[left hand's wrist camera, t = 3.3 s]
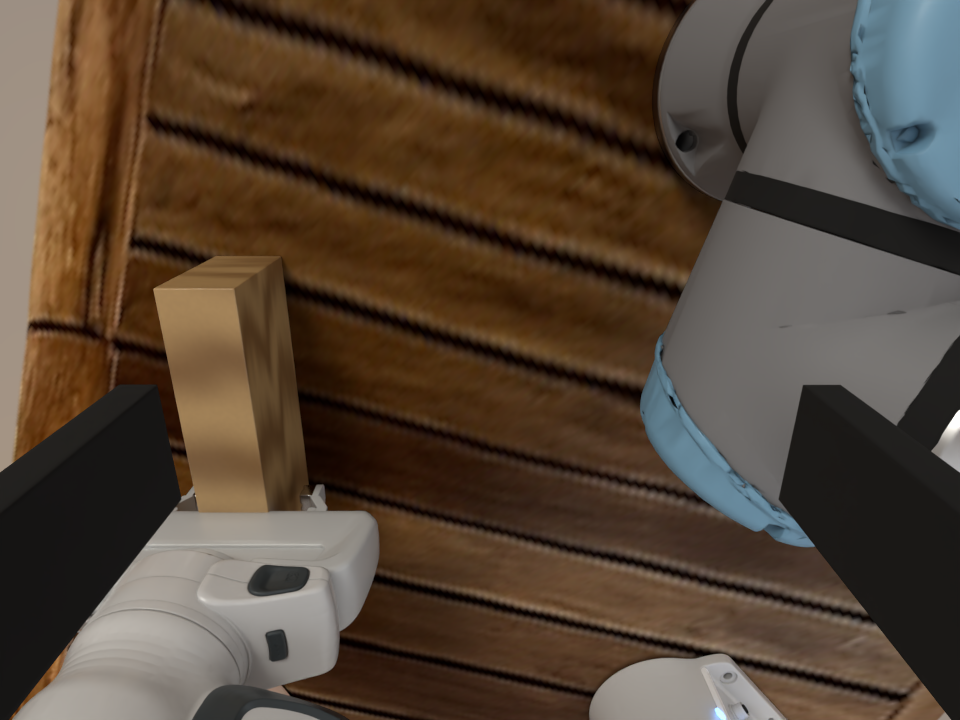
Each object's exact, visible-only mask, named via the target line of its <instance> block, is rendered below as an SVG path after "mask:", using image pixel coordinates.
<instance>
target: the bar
mask: <svg viewBox="0 0 960 720" xmlns="http://www.w3.org/2000/svg"><path fill="white" fill-rule="evenodd" d="M154 295H155V300H156V304H157V309H158V314H159V319H160V324H161V329H162V334H163V339H164V344H165V349H166V354H167V358H168V363H169V368H170V373H171V378H172V383H173V388H174V393H175V398H176V403H177V407H178V412H179V417H180V422H181V427H182V432H183V437H184V442H185V447H186V452H187V457H188V461H189V466H190V471H191V476H192V481H193V486H194V491H195V496H196V501H197V506H198V510H199V513H268V512H269V511H301V506H302V504H301V503H300V496H299V495H300V493H301V491H302V490H303V487H304V485H309V481H308V473H307V465H306V457H305V449H304V440H303V432H302V424H301V416H300V407H299V399H298V391H297V383H296V375H295V366H294V358H293V350H292V342H291V334H290V325H289V317H288V309H287V301H286V292H285V284H284V276H283V268H282V260H281V256H216V257H214V258H212V259H210V260H208V261H206V262H204V263H202V264H200V265H198V266H196V267H194V268H192V269H190V270H189V271H187V272H185V273H183V274H181V275H179V276H177V277H175V278H173V279H171V280H169V281H167V282H165V283H163V284H162V285H160V286H158V287H156V288H154Z"/></svg>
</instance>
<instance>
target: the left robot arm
mask: <svg viewBox="0 0 960 720" xmlns="http://www.w3.org/2000/svg"><path fill="white" fill-rule="evenodd" d="M652 108H653V118H654V124H655V129H656V133H657V136H658V140H659V142H660V145H661V147H662V150H663V152H664V154H665V155H666V157H667V159H668V161H669V162H670V164H671V165H672V167H673V168H674V169H675V170H676V172H677V173H678V174H679V175H680V176H681V177H682V178H683V179H684V180H685V181H686V182H687V183H688V184H690V185H691V186H692V187H693V188H695V189H697V190H698V191H700V192H701V193H703V194H705V195H707V196H709V197H712V198H714V199H717V200H720V201H723V202H722V204H721V206H720V209H719V211H718V213H717V216H716V218H715V220H714V222H713V225H712V227H711V229H710V231H709V234H708V236H707V238H706V240H705V243H704V245H703V247H702V249H701V252H700V254H699V256H698V258H697V261H696V263H695V265H694V267H693V270H692V272H691V274H690V276H689V279H688V281H687V283H686V285H685V288H684V290H683V292H682V294H681V297H680V299H679V301H678V303H677V306H676V308H675V310H674V312H673V315H672V317H671V319H670V321H669V324H668V326H667V328H666V330H665V332H664V333H663V334H662V335H660V337H659V339H658V341H657V344H656V348H655V360H654V363H653V365H652V368H651V371H650V373H649V376H648V379H647V381H646V384H645V387H644V389H643V392H642V396H641V403H640V411H641V416H642V419H643V422H644V425H645V431H646V434H647V436H648V438H649V440H650V442H651V444H652V445H653V447H654V449H655V450H656V452H657V453H658V455H659V456H660V457H661V459H662V460H663V461H664V462H665V463H666V465H667V466H668V467H669V468H670V469H671V470H672V471H673V473H674V474H675V475H676V476H677V477H678V478H679V479H680V480H682V481H683V482H684V483H685V484H686V485H687V486H688V487H689V488H690V489H691V490H693V491H694V492H695V493H696V494H697V495H698V496H700V497H701V498H702V499H703V500H705V501H706V502H707V503H709V504H710V505H711V506H713V507H714V508H715V509H717V510H718V511H720V512H721V513H723V514H724V515H726V516H728V517H729V518H731V519H732V520H734V521H736V522H738V523H740V524H741V525H743V526H745V527H747V528H749V529H751V530H753V531H761V530H762V529H764V530H765V531H766V532H768V533H769V534H770V535H771V536H772V537H773V538H774V539H775V540H776V541H779V542H783V543H786V544H790V545H794V546H800V547H816V548H817V549H818V551H819V552H820V553H821V554H822V556H823V557H824V558H825V559H826V561H827V562H828V563H829V565H830V566H831V567H832V568H833V570H834V571H835V572H836V573H837V575H838V576H839V577H840V579H841V580H842V581H843V582H844V584H845V585H846V586H847V587H848V589H849V590H850V591H851V593H852V594H853V595H854V596H855V598H856V599H857V600H858V601H859V603H860V604H861V605H862V607H863V608H864V609H865V610H866V612H867V613H868V614H869V615H870V617H871V618H872V619H873V621H874V622H875V623H876V624H877V626H878V627H879V628H880V629H881V631H882V632H883V633H884V635H885V636H886V637H887V638H888V640H889V641H890V642H891V644H892V645H893V646H894V647H895V649H896V650H897V651H898V652H899V654H900V655H901V656H902V658H903V659H904V660H905V661H906V663H907V664H908V665H909V666H910V668H911V669H912V670H913V672H914V673H915V674H916V675H917V677H918V678H919V679H920V680H921V682H922V683H923V684H924V686H925V687H926V688H927V689H928V691H929V692H930V693H931V694H932V696H933V697H934V698H935V700H936V701H937V702H938V703H939V705H940V706H941V707H942V708H943V710H944V711H945V712H946V714H947V715H948V716H949V717H950V719H951V720H960V0H692V1H691V2H690V3H689V4H688V6H687V7H686V8H685V9H684V11H683V12H682V13H681V15H680V16H679V18H678V19H677V21H676V22H675V24H674V26H673V27H672V29H671V31H670V33H669V35H668V37H667V39H666V41H665V43H664V46H663V48H662V51H661V54H660V56H659V60H658V63H657V67H656V71H655V76H654V83H653V92H652ZM749 207H752V208H755V209H758V210H755V209H752V208H749ZM759 210H761V211H759ZM762 211H764V212H762ZM765 212H767V213H765ZM768 213H770V214H768ZM771 214H773V215H771ZM774 215H776V216H774ZM778 216H779V217H778ZM781 217H782V218H781ZM784 218H785V219H784ZM787 219H788V220H787ZM790 220H791V221H790ZM793 221H794V222H793ZM796 222H797V223H796ZM799 223H800V224H799ZM803 224H804V225H803ZM806 225H807V226H806ZM809 226H810V227H809ZM812 227H813V228H812ZM815 228H816V229H815ZM818 229H819V230H818ZM821 230H822V231H821ZM825 231H826V232H825ZM828 232H829V233H828ZM831 233H832V234H831ZM834 234H835V235H834ZM837 235H838V236H837ZM840 236H841V237H840ZM843 237H844V238H843ZM846 238H847V239H846ZM859 242H860V243H859ZM862 243H863V244H862ZM865 244H866V245H865ZM868 245H869V246H868ZM871 246H872V247H871ZM874 247H875V248H874ZM181 500H182V499H181V494H180V490H179V485H178V480H177V476H176V471H175V466H174V462H173V457H172V452H171V448H170V443H169V438H168V434H167V429H166V424H165V420H164V415H163V410H162V406H161V401H160V396H159V392H158V387H157V385H118V386H117V387H116V388H114V389H113V390H112V391H110V392H109V393H107V394H106V395H105V396H103V397H102V398H101V399H99V400H98V401H97V402H95V403H94V404H93V405H91V406H90V407H88V408H87V409H86V410H84V411H83V412H82V413H80V414H79V415H78V416H76V417H75V418H74V419H72V420H71V421H69V422H68V423H67V424H65V425H64V426H63V427H61V428H60V429H59V430H57V431H56V432H54V433H53V434H52V435H50V436H49V437H48V438H46V439H45V440H44V441H42V442H41V443H40V444H38V445H37V446H35V447H34V448H33V449H31V450H30V451H29V452H27V453H26V454H25V455H23V456H22V457H21V458H19V459H18V460H16V461H15V462H14V463H12V464H11V465H10V466H8V467H7V468H6V469H4V470H3V471H2V472H0V720H9V719H10V717H11V716H12V715H13V714H14V712H15V711H16V710H17V708H18V707H19V706H20V705H21V703H22V702H23V701H24V700H25V698H26V697H27V696H28V694H29V693H30V692H31V691H32V689H33V688H34V687H35V686H36V684H37V683H38V682H39V680H40V679H41V678H42V677H43V675H44V674H45V673H46V672H47V670H48V669H49V668H50V666H51V665H52V664H53V663H54V661H55V660H56V659H57V658H58V656H59V655H60V654H61V652H62V651H63V650H64V649H65V647H66V646H67V645H68V644H69V642H70V641H71V640H72V638H73V637H74V636H75V635H76V633H77V632H78V631H79V629H80V628H81V627H82V626H83V624H84V623H85V622H86V621H87V619H88V618H89V617H90V615H91V614H92V613H93V612H94V610H95V609H96V608H97V607H98V605H99V604H100V603H101V601H102V600H103V599H104V598H105V596H106V595H107V594H108V593H109V591H110V590H111V589H112V587H113V586H114V585H115V584H116V582H117V581H118V580H119V579H120V577H121V576H122V575H123V573H124V572H125V571H126V570H127V568H128V567H129V566H130V565H131V563H132V562H133V561H134V559H135V558H136V557H137V556H138V554H139V553H140V552H141V551H142V549H143V548H144V547H145V545H146V544H147V543H148V542H149V540H150V539H151V538H152V537H153V535H154V534H155V533H156V531H157V530H158V529H159V528H160V526H161V525H162V524H163V522H164V521H165V520H166V519H167V517H168V516H169V515H170V514H171V512H172V511H173V510H174V508H175V507H176V506H177V505H178V503H179V502H180V501H181Z"/></svg>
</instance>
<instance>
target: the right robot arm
mask: <svg viewBox="0 0 960 720" xmlns="http://www.w3.org/2000/svg"><path fill="white" fill-rule="evenodd" d="M299 496H300V503H301V504H302V506H301V511H269V512H268V513H199V510H198V506H197V501H196V496H195V491H194V486H193V487H192V488H191V490H190V491H189V492H188V493H187V495H186V496H182V497H181V499H182V500H181V501H180V502H179V503H178V505H177V506H176V507H175V508H174V510H173V511H172V512H171V514H170V515H169V516H168V517H167V519H166V520H165V521H164V522H163V524H162V525H161V526H160V528H159V529H158V530H157V531H156V533H155V534H154V535H153V537H152V538H151V539H150V540H149V542H148V543H147V544H146V545H145V547H144V548H143V549H142V551H141V552H140V553H139V554H138V556H137V557H136V558H135V559H134V561H133V562H132V563H131V565H130V566H129V567H128V568H127V570H126V571H125V572H124V573H123V575H122V576H121V577H120V579H119V580H118V581H117V582H116V584H115V585H114V586H113V587H112V589H111V590H110V591H109V593H108V594H107V595H106V596H105V598H104V599H103V600H102V601H101V603H100V604H99V605H98V607H97V608H96V609H95V610H94V612H93V613H92V614H91V615H90V617H89V618H88V619H87V621H86V622H85V623H84V624H83V626H82V627H81V628H80V629H79V631H78V632H77V633H79V634H78V635H77V637H76V638H75V640H74V641H73V643H72V645H71V646H70V648H69V650H68V653H67V655H66V658H65V660H64V663H63V666H62V668H61V670H60V672H59V674H58V675H57V677H56V678H55V679H54V680H53V681H52V682H51V683H50V684H49V685H48V686H47V687H45V688H44V689H43V690H41V691H40V692H39V693H38V694H36V695H35V696H34V697H33V698H32V699H31V700H29V701H28V702H27V703H26V704H25V705H24V706H23V707H22V708H21V710H20V711H19V712H18V713H17V714H16V716H15V717H14V718H13V719H12V720H349V719H347V718H346V717H344V716H342V715H341V714H339V713H337V712H335V711H332V710H330V709H328V708H325V707H322V706H319V705H316V704H313V703H310V702H307V701H304V700H301V699H298V698H294V697H291V696H288V695H285V694H281V693H277V692H273V691H269V690H268V689H271V688H274V687H277V686H280V685H284V684H287V683H291V682H294V681H298V680H302V679H306V678H310V677H314V676H317V675H321V674H324V673H326V672H328V671H330V670H331V669H332V668H333V667H334V665H335V664H336V661H337V658H338V653H339V638H340V634H339V631H341V630H343V629H345V628H346V627H347V626H349V625H350V624H351V623H352V622H353V621H354V619H355V618H356V617H357V615H358V614H359V612H360V610H361V608H362V606H363V604H364V602H365V599H366V597H367V595H368V592H369V590H370V587H371V584H372V581H373V578H374V575H375V572H376V568H377V565H378V560H379V532H378V524H377V521H376V519H375V518H374V517H373V516H372V515H371V514H370V513H368V512H366V511H328V508H327V506H326V504H325V498H326V497H325V488H324V485H323V484H321V485H304V487H303V490H302V491H301V493H300V495H299ZM589 719H590V720H787V719H786V718H785V717H784V716H783V715H782V713H781V712H780V711H779V710H778V709H777V708H776V707H775V706H774V705H773V704H772V703H771V701H770V700H769V699H768V698H767V697H766V696H765V695H764V694H763V693H762V692H761V690H760V689H759V688H758V687H757V686H756V685H755V684H754V683H753V682H752V681H751V680H750V678H749V677H748V676H747V675H746V674H745V673H744V672H743V671H742V670H741V669H740V668H739V666H738V665H737V664H736V663H735V662H734V661H733V660H732V659H731V658H730V657H729V656H728V655H726V654H712V655H707V656H703V657H699V658H695V659H682V658H658V659H651V660H646V661H642V662H639V663H636V664H633V665H630V666H628V667H626V668H624V669H622V670H620V671H618V672H617V673H615V674H614V675H612V676H611V677H610V678H608V679H607V680H606V681H605V682H604V683H603V684H602V685H601V686H600V688H599V689H598V690H597V692H596V693H595V695H594V697H593V699H592V701H591V705H590V709H589Z"/></svg>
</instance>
